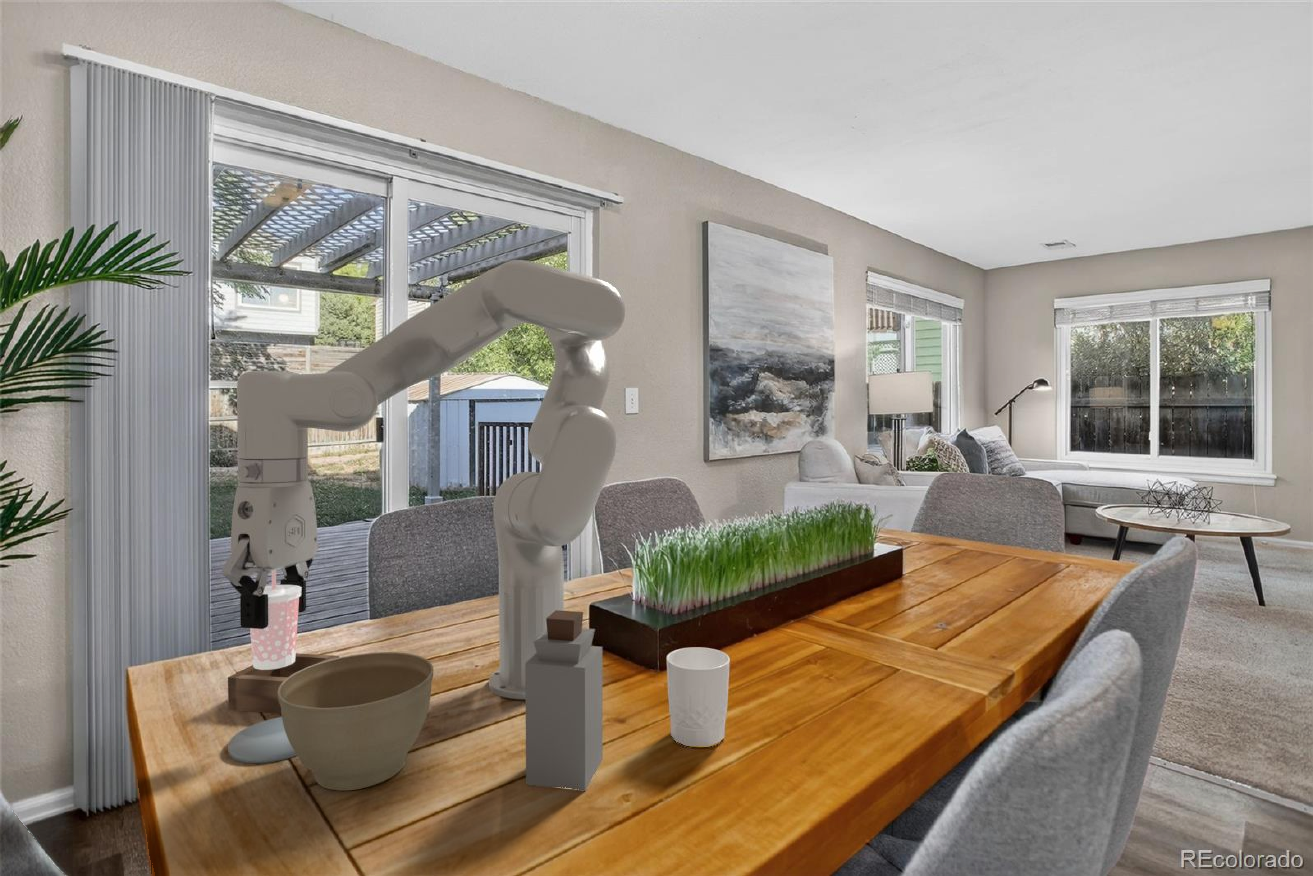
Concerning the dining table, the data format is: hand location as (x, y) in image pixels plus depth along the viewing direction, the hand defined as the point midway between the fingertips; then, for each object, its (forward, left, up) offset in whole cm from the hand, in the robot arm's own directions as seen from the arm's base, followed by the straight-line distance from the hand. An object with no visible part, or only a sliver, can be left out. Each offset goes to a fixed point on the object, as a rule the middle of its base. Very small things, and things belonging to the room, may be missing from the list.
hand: (274, 617), depth 86 cm
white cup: (-51, -9, -16) cm, 54 cm away
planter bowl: (-14, +5, -16) cm, 22 cm away
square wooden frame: (+8, -12, -15) cm, 21 cm away
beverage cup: (0, 0, -6) cm, 6 cm away
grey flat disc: (0, 0, -15) cm, 16 cm away
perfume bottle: (-37, +2, -16) cm, 40 cm away
